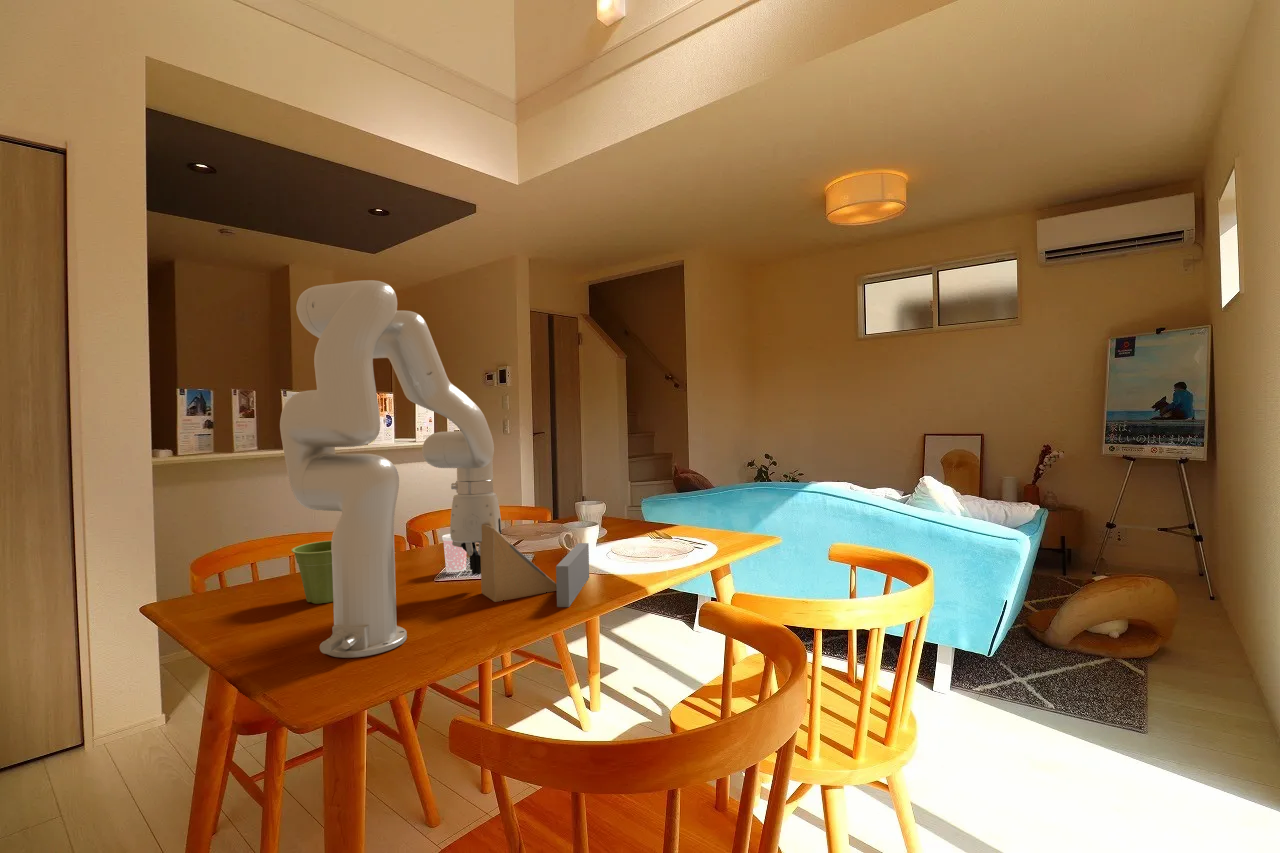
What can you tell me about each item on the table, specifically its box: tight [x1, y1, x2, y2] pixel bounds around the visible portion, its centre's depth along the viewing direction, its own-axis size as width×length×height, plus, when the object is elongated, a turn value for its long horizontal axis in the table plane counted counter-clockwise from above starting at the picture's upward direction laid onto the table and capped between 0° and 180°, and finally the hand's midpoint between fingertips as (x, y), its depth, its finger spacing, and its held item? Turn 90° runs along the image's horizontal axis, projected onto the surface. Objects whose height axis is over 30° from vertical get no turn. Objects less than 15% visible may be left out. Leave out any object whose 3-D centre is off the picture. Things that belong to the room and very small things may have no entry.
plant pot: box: [291, 540, 333, 605], centre depth 131 cm, size 12×12×11 cm
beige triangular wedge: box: [480, 524, 557, 603], centre depth 133 cm, size 9×15×15 cm, turn 123°
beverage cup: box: [441, 533, 467, 572], centre depth 152 cm, size 6×6×14 cm
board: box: [555, 542, 590, 608], centre depth 133 cm, size 22×2×8 cm, turn 174°
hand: (478, 572), depth 135 cm, fingers closed
